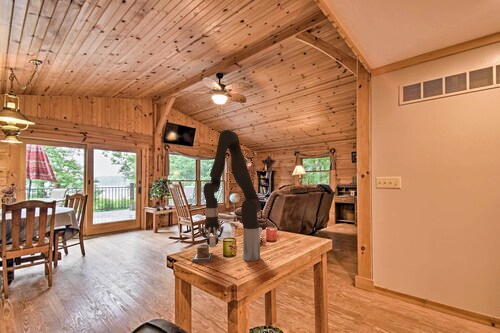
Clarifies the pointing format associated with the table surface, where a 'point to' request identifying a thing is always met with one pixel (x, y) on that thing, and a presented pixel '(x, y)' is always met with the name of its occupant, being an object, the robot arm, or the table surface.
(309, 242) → the table surface
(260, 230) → the duck figurine
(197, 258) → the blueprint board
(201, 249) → the walnut cube
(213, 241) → the cream cylinder
